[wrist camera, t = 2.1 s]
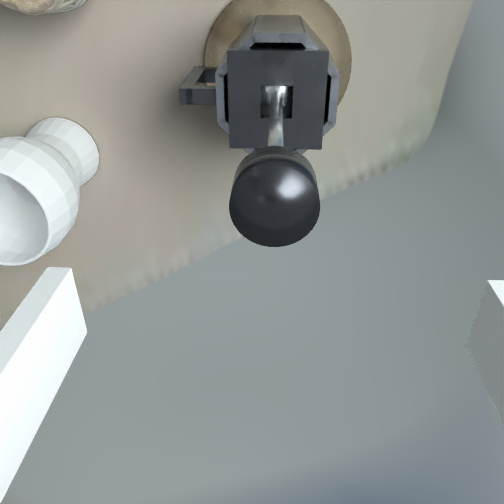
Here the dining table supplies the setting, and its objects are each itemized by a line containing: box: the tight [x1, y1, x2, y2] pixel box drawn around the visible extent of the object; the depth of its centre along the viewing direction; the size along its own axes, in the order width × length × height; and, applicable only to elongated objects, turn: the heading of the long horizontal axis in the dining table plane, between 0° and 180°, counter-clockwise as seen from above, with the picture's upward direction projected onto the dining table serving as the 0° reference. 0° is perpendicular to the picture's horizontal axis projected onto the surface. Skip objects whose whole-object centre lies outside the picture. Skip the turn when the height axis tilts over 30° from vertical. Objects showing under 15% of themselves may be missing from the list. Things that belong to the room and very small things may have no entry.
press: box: [179, 0, 352, 154], centre depth 40 cm, size 14×14×12 cm
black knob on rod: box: [229, 86, 320, 247], centre depth 29 cm, size 6×6×19 cm
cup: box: [0, 117, 99, 266], centre depth 45 cm, size 11×11×15 cm
